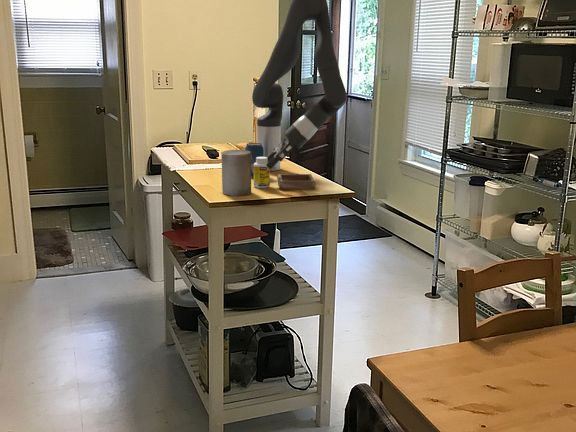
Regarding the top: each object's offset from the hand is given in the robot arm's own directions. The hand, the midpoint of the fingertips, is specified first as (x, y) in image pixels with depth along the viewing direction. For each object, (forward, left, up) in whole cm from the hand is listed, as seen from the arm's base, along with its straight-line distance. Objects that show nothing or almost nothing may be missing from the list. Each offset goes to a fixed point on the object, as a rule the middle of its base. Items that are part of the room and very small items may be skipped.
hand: (267, 164), depth 216 cm
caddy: (-1, +10, -8) cm, 13 cm away
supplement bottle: (0, -2, -8) cm, 8 cm away
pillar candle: (+9, -11, -8) cm, 16 cm away
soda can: (-19, -4, -8) cm, 21 cm away
